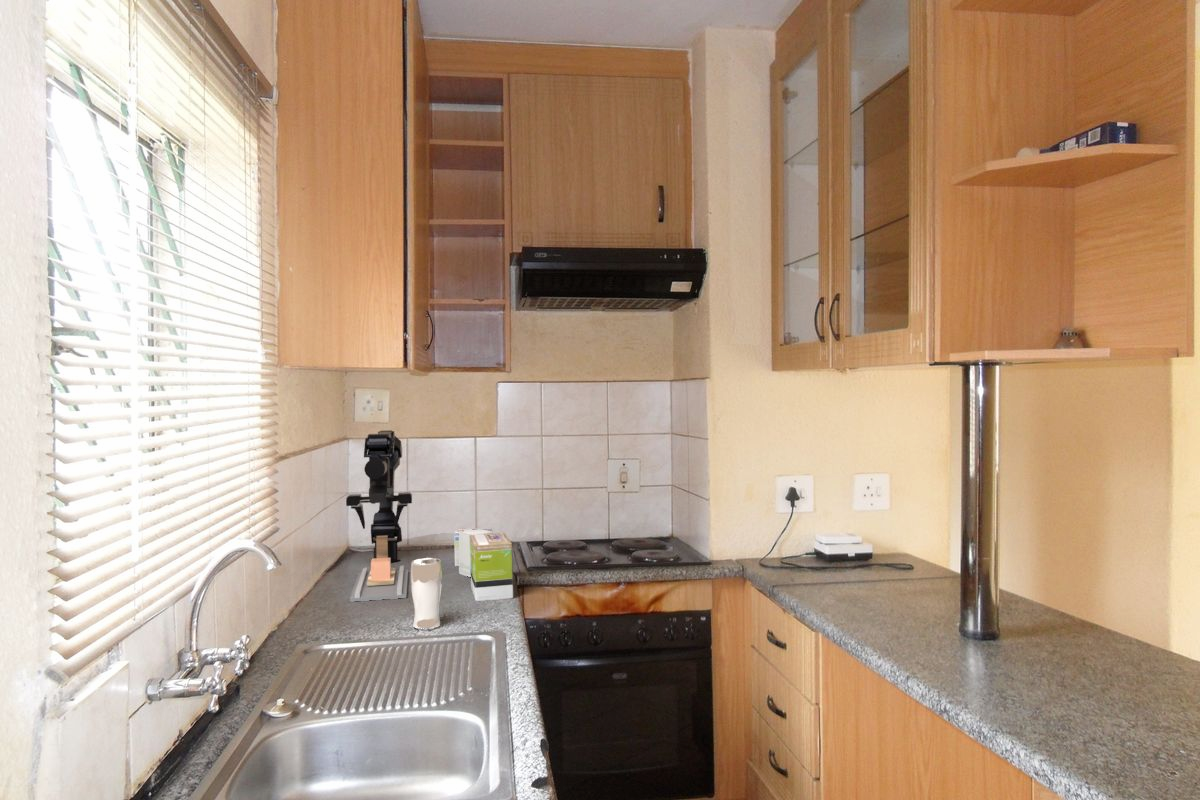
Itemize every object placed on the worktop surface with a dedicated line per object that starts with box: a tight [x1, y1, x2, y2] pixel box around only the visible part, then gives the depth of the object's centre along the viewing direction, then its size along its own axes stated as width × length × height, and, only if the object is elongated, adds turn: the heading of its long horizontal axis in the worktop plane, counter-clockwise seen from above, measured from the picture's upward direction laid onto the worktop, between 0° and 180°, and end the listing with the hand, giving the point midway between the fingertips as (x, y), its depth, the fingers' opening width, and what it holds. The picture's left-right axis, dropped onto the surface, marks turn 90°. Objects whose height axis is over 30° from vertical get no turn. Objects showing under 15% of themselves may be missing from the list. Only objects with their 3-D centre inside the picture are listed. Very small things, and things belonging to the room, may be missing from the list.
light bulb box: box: [453, 528, 493, 567], centre depth 241 cm, size 11×7×11 cm, turn 84°
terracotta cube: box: [370, 557, 392, 581], centre depth 215 cm, size 5×5×5 cm
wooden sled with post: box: [367, 536, 397, 586], centre depth 219 cm, size 16×7×11 cm, turn 13°
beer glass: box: [410, 557, 443, 629], centre depth 177 cm, size 7×7×15 cm
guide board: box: [349, 565, 409, 603], centre depth 215 cm, size 30×14×2 cm, turn 13°
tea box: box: [470, 532, 514, 602], centre depth 206 cm, size 15×10×15 cm, turn 14°
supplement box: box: [458, 528, 493, 578], centre depth 228 cm, size 7×7×13 cm
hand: (380, 527), depth 233 cm, fingers open, 9 cm apart
